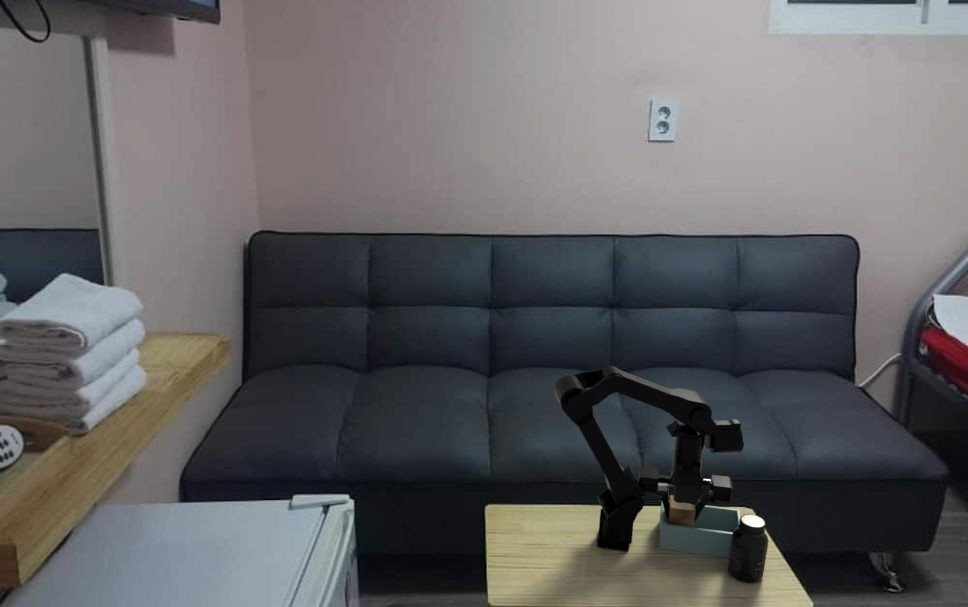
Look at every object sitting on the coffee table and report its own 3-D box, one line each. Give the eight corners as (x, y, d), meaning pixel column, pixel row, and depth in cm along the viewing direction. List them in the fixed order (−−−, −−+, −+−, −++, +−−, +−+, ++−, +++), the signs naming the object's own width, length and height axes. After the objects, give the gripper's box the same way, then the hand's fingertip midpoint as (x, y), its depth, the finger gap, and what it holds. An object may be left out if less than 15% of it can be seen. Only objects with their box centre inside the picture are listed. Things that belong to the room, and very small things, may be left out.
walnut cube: (668, 528, 169) (670, 507, 168) (668, 515, 174) (670, 494, 172) (692, 531, 168) (695, 510, 167) (692, 518, 173) (694, 498, 171)
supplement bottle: (765, 586, 157) (773, 533, 153) (728, 581, 158) (735, 528, 155) (760, 565, 164) (768, 513, 160) (725, 560, 165) (732, 508, 161)
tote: (659, 548, 168) (661, 524, 166) (659, 522, 177) (661, 499, 176) (740, 559, 165) (744, 535, 164) (736, 532, 174) (739, 509, 173)
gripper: (640, 466, 160) (634, 535, 165) (739, 478, 156) (730, 548, 161) (641, 440, 170) (635, 505, 175) (734, 451, 167) (725, 517, 172)
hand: (680, 519), depth 171 cm, fingers closed on walnut cube, 5 cm apart
